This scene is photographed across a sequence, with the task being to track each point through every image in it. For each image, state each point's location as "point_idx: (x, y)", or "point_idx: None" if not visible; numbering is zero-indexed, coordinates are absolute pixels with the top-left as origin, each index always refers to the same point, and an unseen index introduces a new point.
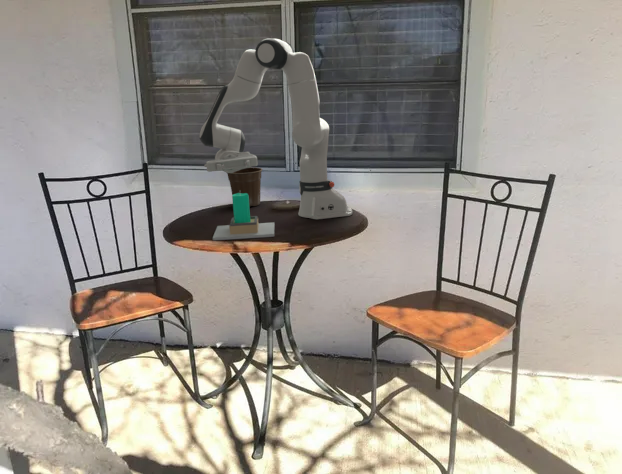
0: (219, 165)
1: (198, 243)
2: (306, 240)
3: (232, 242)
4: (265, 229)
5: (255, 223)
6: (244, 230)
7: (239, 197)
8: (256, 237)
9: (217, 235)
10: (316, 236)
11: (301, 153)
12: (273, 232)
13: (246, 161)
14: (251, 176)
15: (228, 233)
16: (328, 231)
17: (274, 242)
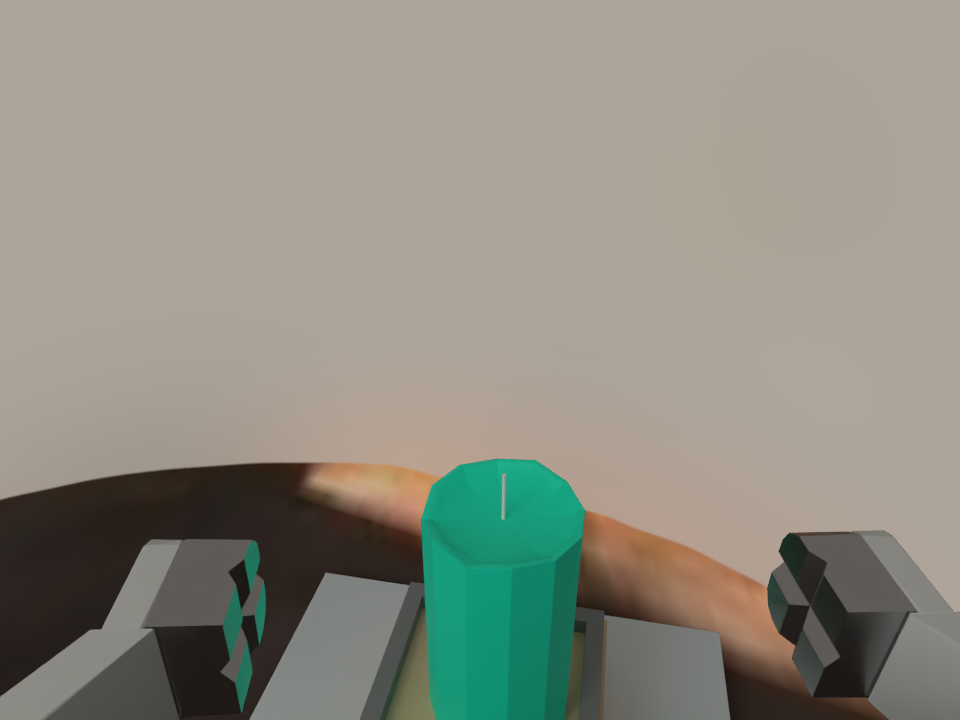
0: (957, 627)
1: None
2: (215, 485)
3: (583, 573)
4: (337, 679)
5: (417, 588)
6: None
7: (517, 470)
8: None
9: (694, 669)
10: (132, 516)
11: None
12: (317, 596)
13: (156, 604)
14: None
15: (616, 685)
16: (7, 564)
17: (366, 507)
